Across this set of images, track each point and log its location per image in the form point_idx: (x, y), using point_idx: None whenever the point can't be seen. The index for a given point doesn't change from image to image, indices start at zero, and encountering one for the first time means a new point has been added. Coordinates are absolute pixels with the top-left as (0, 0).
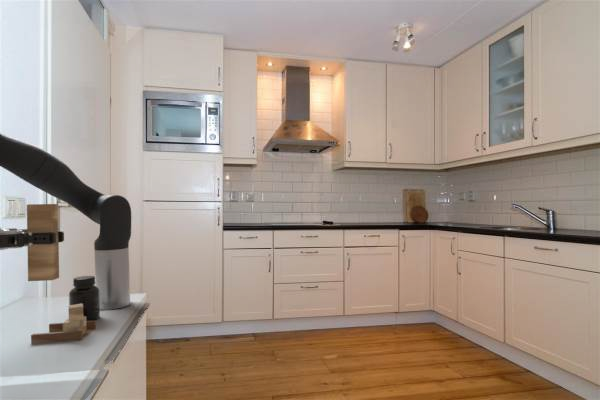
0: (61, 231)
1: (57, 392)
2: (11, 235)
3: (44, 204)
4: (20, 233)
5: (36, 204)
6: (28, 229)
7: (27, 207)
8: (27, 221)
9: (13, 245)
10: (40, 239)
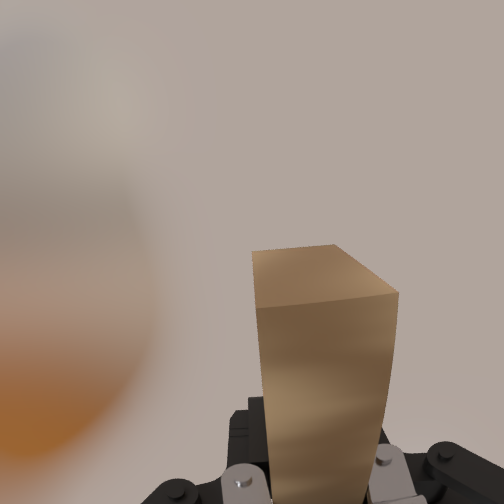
0: (257, 397)
1: None
2: (485, 465)
3: (346, 255)
4: (448, 451)
5: (363, 268)
6: (367, 467)
7: (393, 320)
8: (378, 430)
9: (458, 497)
10: None
